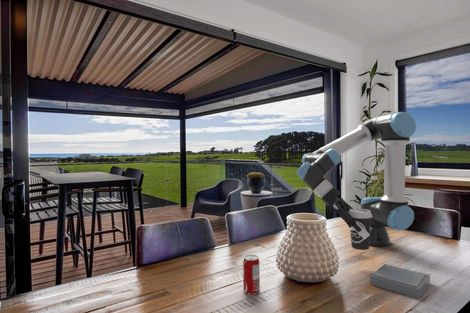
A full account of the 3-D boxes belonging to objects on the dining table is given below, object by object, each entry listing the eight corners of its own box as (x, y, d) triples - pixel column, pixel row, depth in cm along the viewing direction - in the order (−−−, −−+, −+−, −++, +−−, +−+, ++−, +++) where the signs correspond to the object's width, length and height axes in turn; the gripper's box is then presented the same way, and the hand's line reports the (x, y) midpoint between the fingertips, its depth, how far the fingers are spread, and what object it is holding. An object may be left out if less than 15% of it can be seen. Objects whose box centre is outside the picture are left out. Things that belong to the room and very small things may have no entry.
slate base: (384, 271, 115) (384, 263, 115) (430, 283, 104) (430, 274, 104) (370, 284, 104) (370, 275, 104) (419, 298, 94) (419, 288, 93)
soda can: (243, 287, 103) (243, 253, 103) (259, 287, 103) (258, 253, 102) (243, 295, 97) (243, 259, 97) (260, 295, 97) (259, 259, 97)
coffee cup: (376, 251, 114) (375, 213, 113) (350, 250, 116) (349, 212, 115) (370, 243, 123) (369, 208, 123) (345, 243, 125) (345, 208, 125)
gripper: (326, 194, 136) (364, 232, 129) (314, 202, 117) (358, 247, 109) (338, 183, 133) (377, 221, 126) (327, 190, 114) (373, 235, 107)
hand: (368, 233), depth 118 cm, fingers closed on coffee cup, 9 cm apart
